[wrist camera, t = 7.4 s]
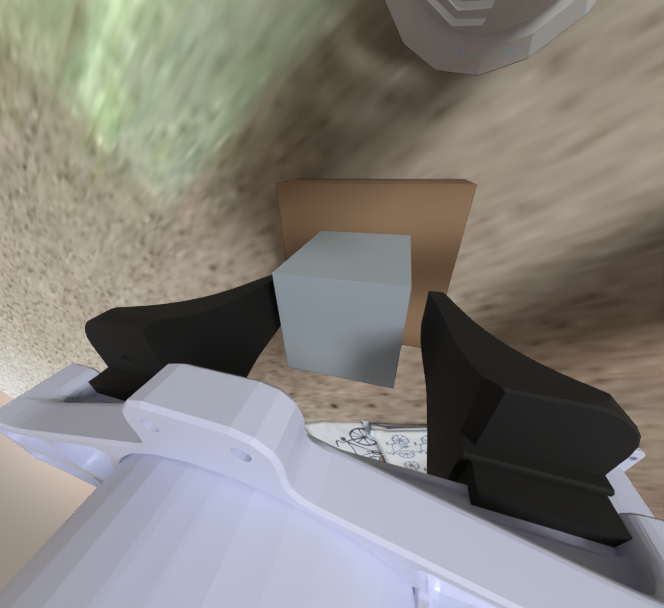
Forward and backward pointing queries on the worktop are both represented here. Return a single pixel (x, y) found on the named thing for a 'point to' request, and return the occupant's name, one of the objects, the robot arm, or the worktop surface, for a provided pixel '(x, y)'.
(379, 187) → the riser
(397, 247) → the slate cube
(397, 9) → the french press
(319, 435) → the white bicycle print cloth
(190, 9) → the worktop surface
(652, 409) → the worktop surface
